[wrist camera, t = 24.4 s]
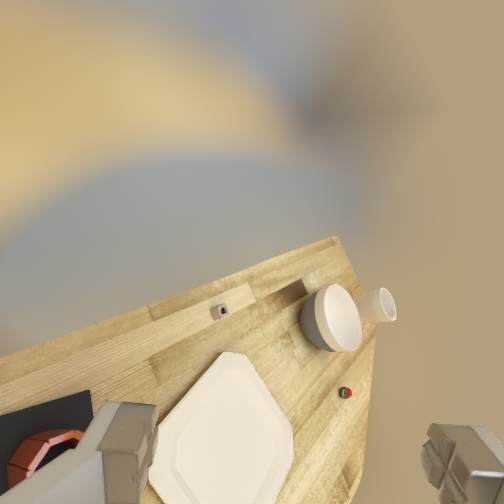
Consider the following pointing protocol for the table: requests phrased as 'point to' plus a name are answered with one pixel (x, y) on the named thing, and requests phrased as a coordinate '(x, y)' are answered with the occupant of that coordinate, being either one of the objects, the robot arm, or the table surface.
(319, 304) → the bowl
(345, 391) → the ring
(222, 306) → the cube with dark pebbles
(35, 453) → the orange hollow octagonal tube
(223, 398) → the plate
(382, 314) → the foam cup
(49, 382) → the table surface
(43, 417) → the mat
